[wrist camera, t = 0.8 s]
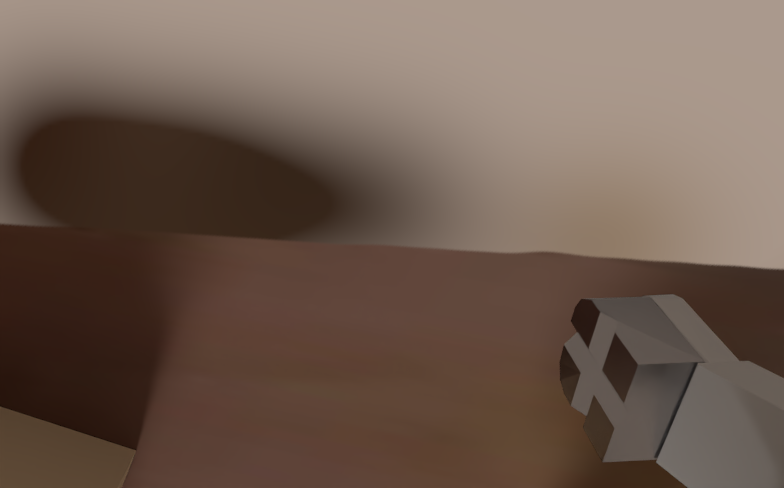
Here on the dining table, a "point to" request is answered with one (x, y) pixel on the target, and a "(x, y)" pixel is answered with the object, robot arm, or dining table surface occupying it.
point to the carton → (57, 456)
